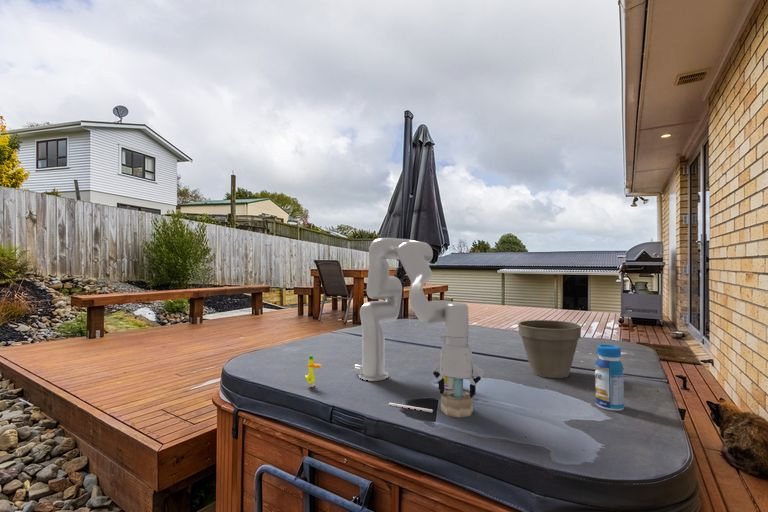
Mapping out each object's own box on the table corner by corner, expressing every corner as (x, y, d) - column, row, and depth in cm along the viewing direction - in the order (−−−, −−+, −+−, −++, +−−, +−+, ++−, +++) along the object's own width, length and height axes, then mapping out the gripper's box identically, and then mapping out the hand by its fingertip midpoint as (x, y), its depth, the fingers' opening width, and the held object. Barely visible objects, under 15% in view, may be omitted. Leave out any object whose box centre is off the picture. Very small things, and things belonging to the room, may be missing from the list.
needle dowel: (452, 412, 118) (452, 374, 118) (454, 408, 121) (454, 371, 121) (462, 413, 117) (462, 375, 117) (463, 410, 120) (464, 373, 120)
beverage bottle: (625, 413, 117) (624, 350, 118) (594, 408, 122) (593, 347, 122) (624, 405, 124) (623, 345, 125) (595, 400, 129) (594, 342, 129)
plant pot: (517, 378, 154) (516, 326, 154) (519, 363, 177) (519, 318, 177) (585, 385, 144) (584, 330, 145) (578, 369, 167) (577, 321, 168)
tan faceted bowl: (438, 414, 117) (438, 398, 117) (445, 403, 125) (445, 388, 126) (469, 419, 113) (468, 402, 113) (474, 408, 122) (474, 392, 122)
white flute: (388, 405, 124) (388, 403, 124) (389, 404, 125) (389, 402, 125) (432, 412, 118) (432, 410, 118) (432, 411, 119) (432, 409, 119)
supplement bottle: (460, 385, 144) (460, 352, 144) (458, 391, 138) (458, 356, 138) (443, 383, 146) (443, 351, 147) (440, 389, 140) (440, 355, 140)
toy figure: (322, 386, 143) (322, 354, 144) (319, 389, 140) (319, 357, 140) (306, 385, 145) (306, 354, 145) (302, 388, 141) (302, 356, 141)
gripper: (427, 341, 120) (427, 394, 119) (482, 345, 113) (482, 402, 112) (433, 337, 127) (433, 387, 126) (485, 341, 120) (485, 394, 119)
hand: (456, 394), depth 119 cm, fingers open, 9 cm apart
